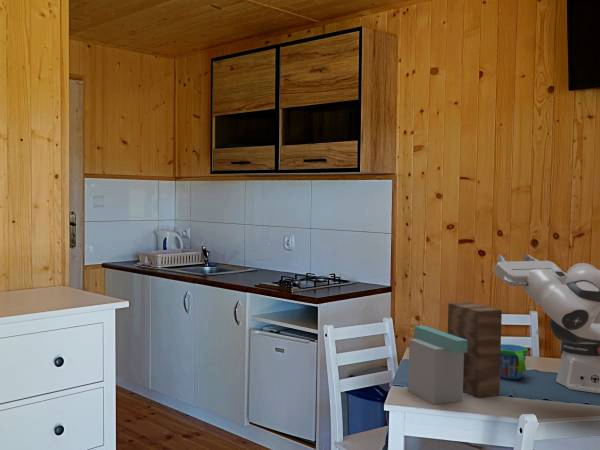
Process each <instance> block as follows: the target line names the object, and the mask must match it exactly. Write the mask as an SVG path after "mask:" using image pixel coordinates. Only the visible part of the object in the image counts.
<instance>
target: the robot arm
mask: <svg viewBox="0 0 600 450" xmlns="http://www.w3.org/2000/svg"><path fill="white" fill-rule="evenodd" d="M506 258H507V257H506V256H505V255H504V254H498V255H497V258H496V260H497V261H498V262H497V263H496V264H495V267H494V269H493V274H494V275H495V276H496V277H497V278H498V279H500V281H502V282H503V283H505V285H508V286H510V287H511V286H512V287H523V291H524V292H525V293H526V294H527V295H528V296H529V297H530V299H532V300H533V302H534V303H536V304H537V305H539V306H541V309H542V311H543V312H544V313H545V314H546V315H547V316H548V317H549V318H550V319H549V320H548V321H549V327H550V329H551V332H552V334H553V335H554V336H555V338H556V339H558V340H559V341H560V356H561V358H560V364H559V368H558V372H557V375H556V379H555V382H556V383H558V384H560V385H562V386H564V387H565V388H567V389H569V390H571V391H580V392H588V393H594V394H600V269H597V267H595V266H594V265H592V264H590V263H585V262H580V263H579V262H578V263H576V264H573V265H572V266H571V267H569V268H568V270H567V271H566V272H565V271H563V270H562V269H561V268H560V267H559V266H558V265H557V264H555V262H553V261H550V260H539V259H536V258H534V257H532V256H531V255H529V254H523V256H522V260H523V261H521V260H520V261H516V260H515V261H507V260H506Z"/></svg>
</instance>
